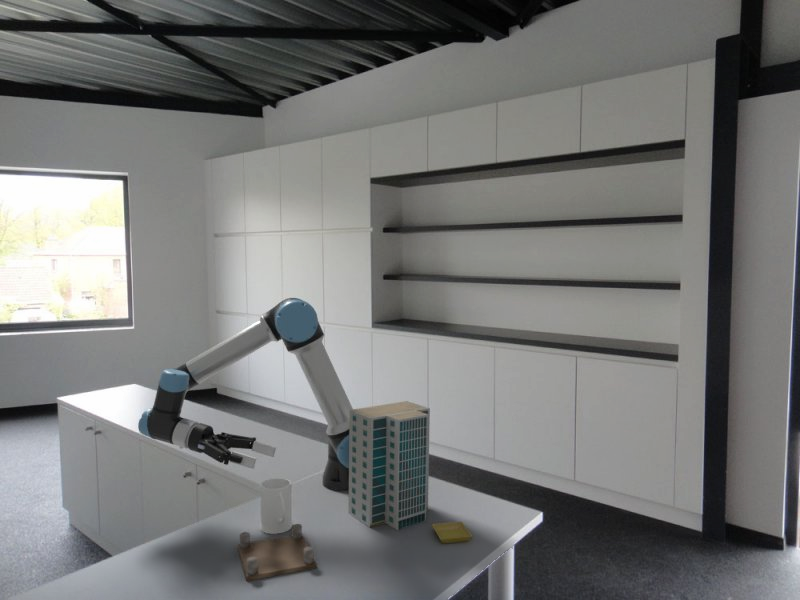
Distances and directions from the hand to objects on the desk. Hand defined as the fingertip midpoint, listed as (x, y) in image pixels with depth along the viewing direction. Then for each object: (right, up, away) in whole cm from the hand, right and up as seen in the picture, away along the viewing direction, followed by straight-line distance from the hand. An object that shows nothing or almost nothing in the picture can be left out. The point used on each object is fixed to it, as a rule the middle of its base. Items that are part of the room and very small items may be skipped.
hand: (265, 457), depth 154 cm
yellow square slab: (+50, -20, -3) cm, 54 cm away
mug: (+3, -19, -1) cm, 20 cm away
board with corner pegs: (+6, -20, -16) cm, 26 cm away
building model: (+35, -19, +10) cm, 41 cm away
